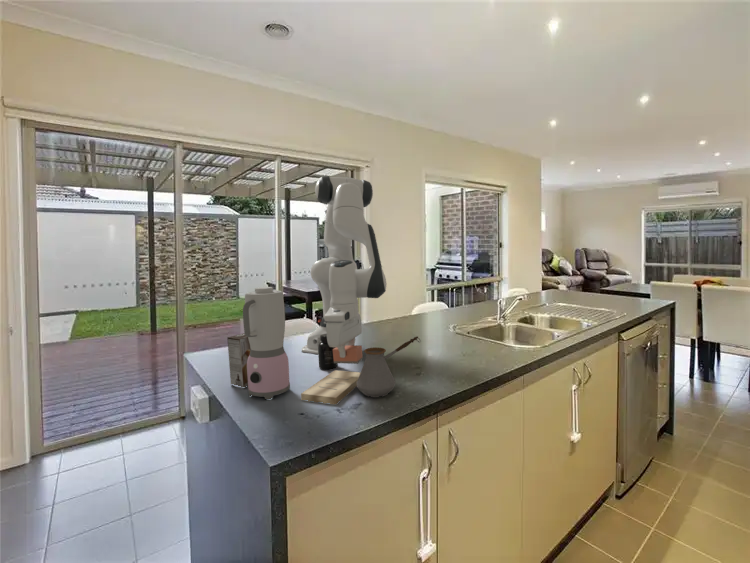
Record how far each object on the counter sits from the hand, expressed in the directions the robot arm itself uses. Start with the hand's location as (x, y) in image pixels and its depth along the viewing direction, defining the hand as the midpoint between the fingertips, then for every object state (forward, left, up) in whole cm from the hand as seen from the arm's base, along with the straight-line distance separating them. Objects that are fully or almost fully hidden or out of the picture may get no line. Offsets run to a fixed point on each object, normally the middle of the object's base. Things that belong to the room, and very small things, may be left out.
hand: (347, 354), depth 127 cm
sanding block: (0, 0, -2) cm, 2 cm away
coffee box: (-31, -10, -9) cm, 34 cm away
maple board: (-1, -7, -9) cm, 12 cm away
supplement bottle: (-13, +12, -9) cm, 20 cm away
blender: (-19, -17, -9) cm, 27 cm away
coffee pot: (+15, -3, -9) cm, 18 cm away
